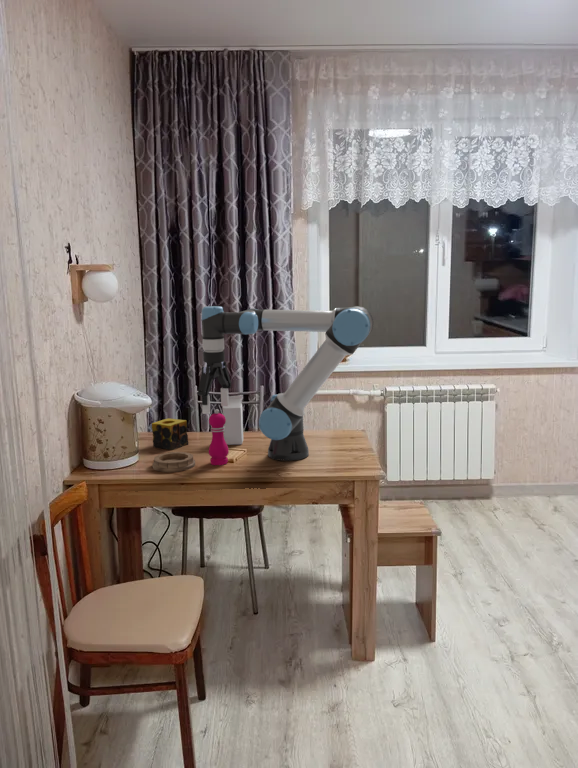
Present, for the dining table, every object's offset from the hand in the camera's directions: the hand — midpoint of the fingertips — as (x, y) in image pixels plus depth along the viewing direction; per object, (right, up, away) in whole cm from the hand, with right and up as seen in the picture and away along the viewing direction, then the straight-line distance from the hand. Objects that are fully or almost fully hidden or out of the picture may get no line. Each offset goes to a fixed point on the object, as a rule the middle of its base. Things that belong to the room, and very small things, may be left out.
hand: (216, 409), depth 243 cm
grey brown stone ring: (-15, -20, +2) cm, 25 cm away
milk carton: (+4, -14, +31) cm, 34 cm away
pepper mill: (+1, -20, +4) cm, 20 cm away
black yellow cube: (-21, -16, +29) cm, 39 cm away
